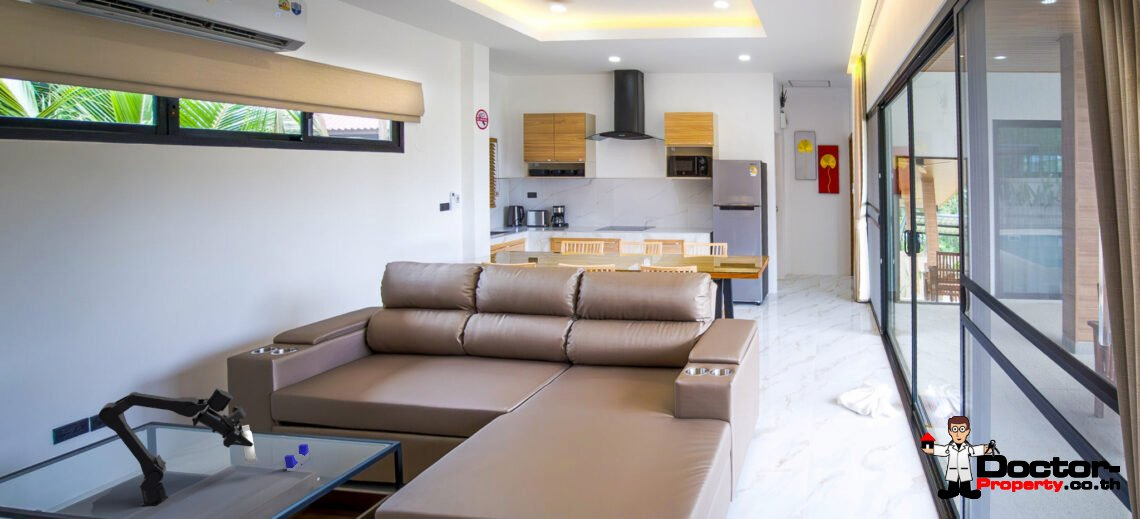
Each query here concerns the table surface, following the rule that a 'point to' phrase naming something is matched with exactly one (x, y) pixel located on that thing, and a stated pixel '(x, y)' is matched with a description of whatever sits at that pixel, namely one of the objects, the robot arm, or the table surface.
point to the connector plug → (249, 450)
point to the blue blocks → (290, 459)
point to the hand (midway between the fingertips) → (252, 443)
